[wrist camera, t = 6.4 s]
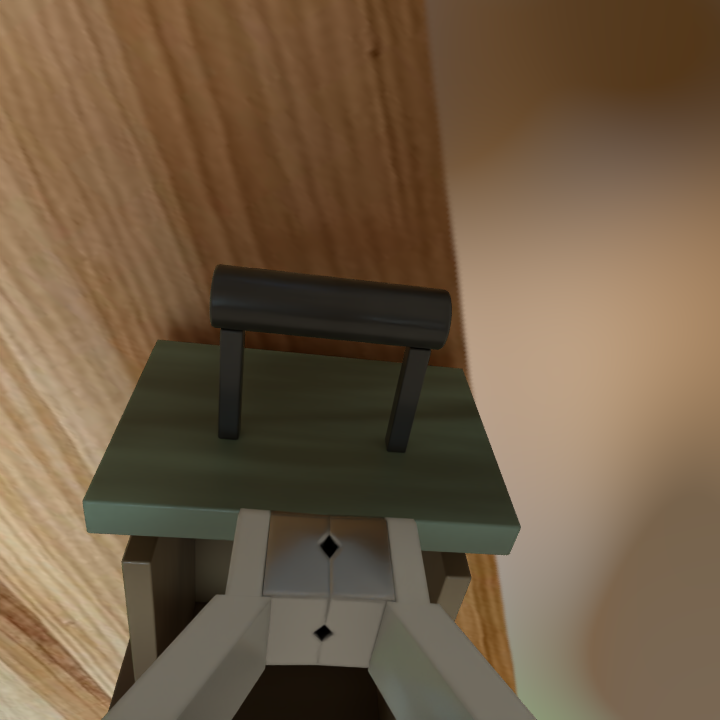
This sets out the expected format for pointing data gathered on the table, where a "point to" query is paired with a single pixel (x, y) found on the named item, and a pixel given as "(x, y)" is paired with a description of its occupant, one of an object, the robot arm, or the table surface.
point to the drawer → (295, 461)
